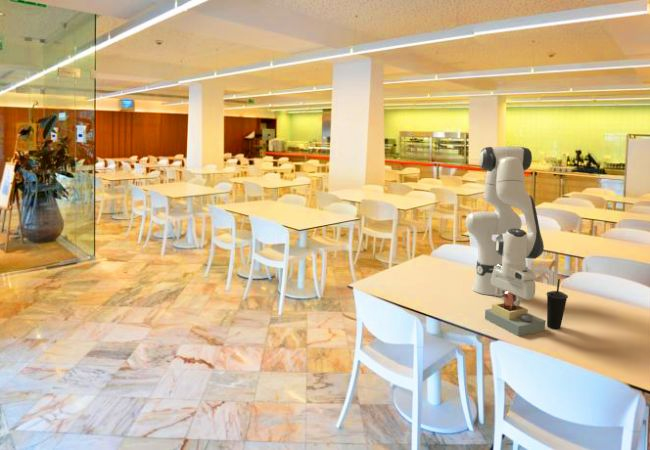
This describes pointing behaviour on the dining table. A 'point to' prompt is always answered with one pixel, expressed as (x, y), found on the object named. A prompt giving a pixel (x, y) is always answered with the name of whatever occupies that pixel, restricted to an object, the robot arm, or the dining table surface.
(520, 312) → the grey block with tray
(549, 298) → the drinking cup
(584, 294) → the dining table surface
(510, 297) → the spout can
